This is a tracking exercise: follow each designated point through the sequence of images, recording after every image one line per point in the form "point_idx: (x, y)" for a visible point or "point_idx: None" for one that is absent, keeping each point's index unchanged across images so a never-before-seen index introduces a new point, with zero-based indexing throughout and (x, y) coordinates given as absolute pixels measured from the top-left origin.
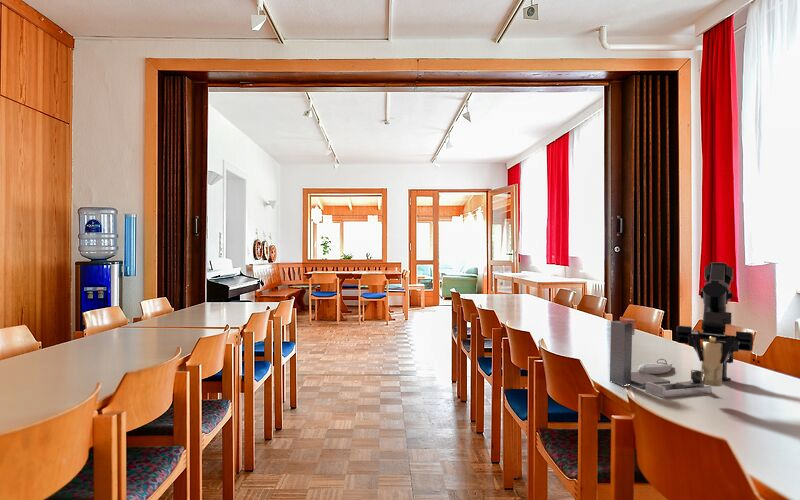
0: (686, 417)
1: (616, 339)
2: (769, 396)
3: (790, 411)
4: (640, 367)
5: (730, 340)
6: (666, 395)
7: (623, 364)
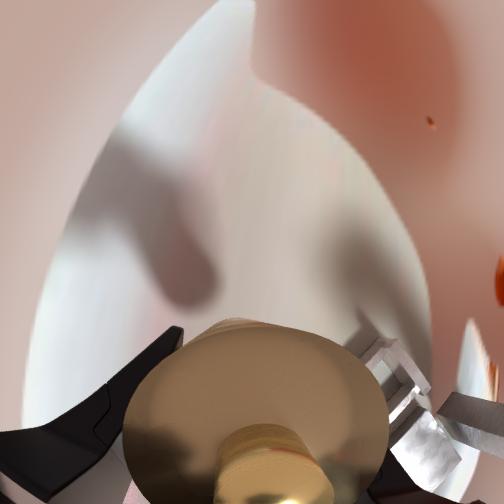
0: (330, 164)
1: None
2: None
3: (34, 350)
4: None
5: (23, 454)
6: (370, 350)
7: (498, 403)
